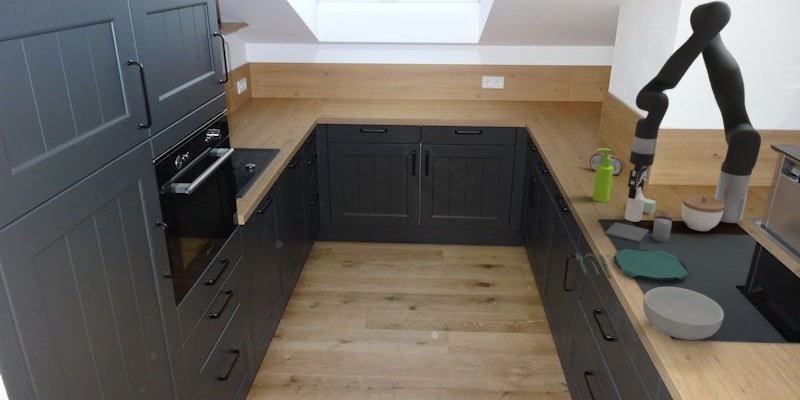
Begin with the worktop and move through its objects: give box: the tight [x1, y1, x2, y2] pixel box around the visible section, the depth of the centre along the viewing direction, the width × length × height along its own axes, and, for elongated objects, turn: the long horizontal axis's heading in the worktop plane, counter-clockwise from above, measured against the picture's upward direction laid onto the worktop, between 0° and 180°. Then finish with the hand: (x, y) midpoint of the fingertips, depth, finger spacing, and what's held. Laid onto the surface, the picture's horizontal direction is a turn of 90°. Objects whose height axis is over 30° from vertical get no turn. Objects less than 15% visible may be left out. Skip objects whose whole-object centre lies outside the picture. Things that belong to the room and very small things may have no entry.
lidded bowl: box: [681, 195, 725, 232], centre depth 192 cm, size 13×13×11 cm
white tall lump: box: [624, 187, 645, 223], centre depth 198 cm, size 6×12×6 cm
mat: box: [604, 221, 650, 243], centre depth 189 cm, size 11×11×1 cm
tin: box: [589, 151, 626, 176], centre depth 248 cm, size 15×3×8 cm, turn 47°
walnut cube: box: [653, 209, 673, 224], centre depth 193 cm, size 5×5×5 cm
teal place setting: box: [575, 248, 689, 281], centre depth 166 cm, size 20×30×2 cm, turn 82°
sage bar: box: [643, 197, 657, 215], centre depth 208 cm, size 8×4×4 cm, turn 49°
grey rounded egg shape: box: [651, 219, 673, 243], centre depth 184 cm, size 5×5×6 cm
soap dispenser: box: [592, 147, 613, 203], centre depth 215 cm, size 6×7×20 cm
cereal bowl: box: [642, 286, 725, 341], centre depth 134 cm, size 17×17×7 cm
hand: (635, 194), depth 198 cm, fingers open, 8 cm apart
